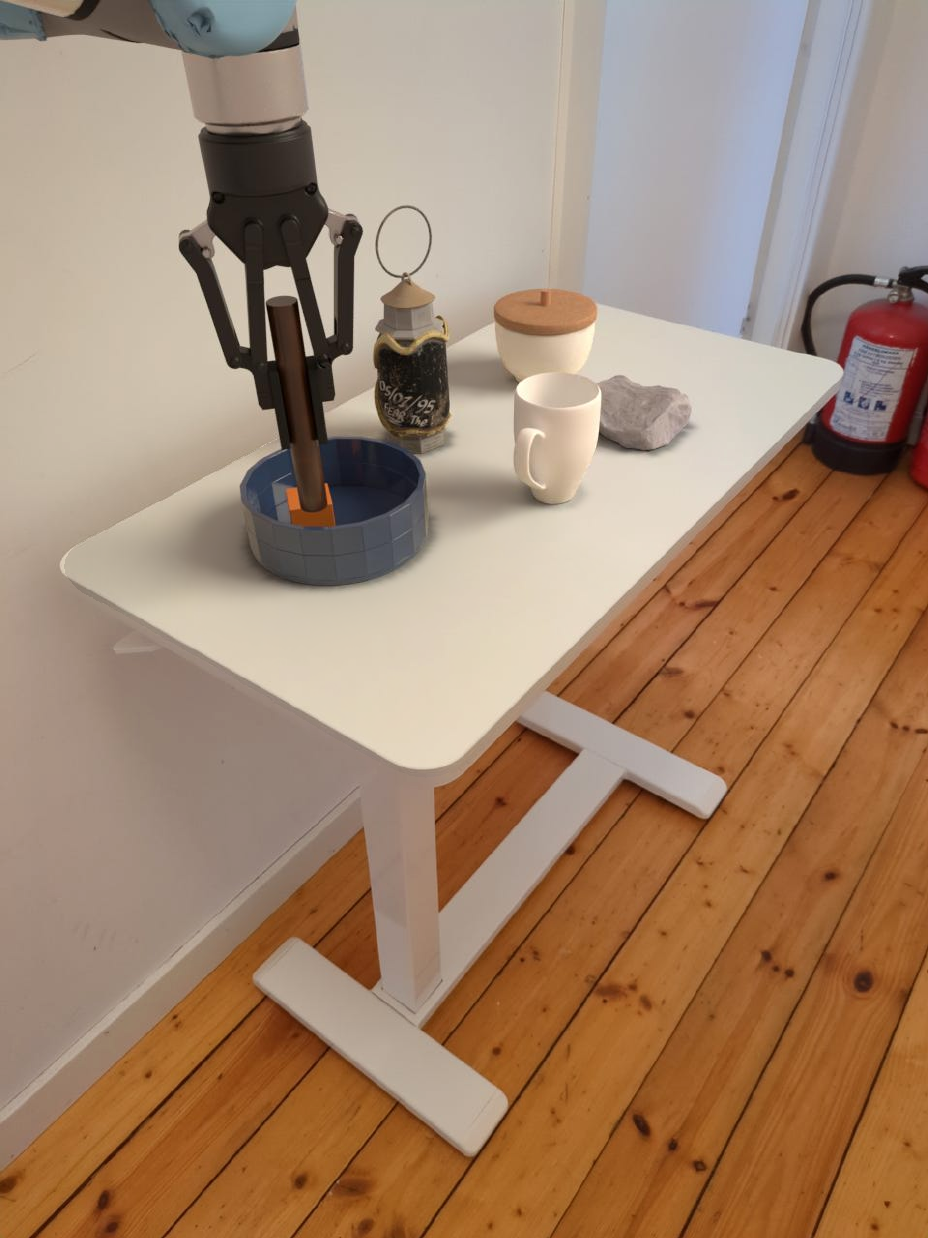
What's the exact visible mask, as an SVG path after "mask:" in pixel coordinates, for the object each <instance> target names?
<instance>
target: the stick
mask: <svg viewBox="0 0 928 1238" xmlns="http://www.w3.org/2000/svg"><path fill="white" fill-rule="evenodd" d="M265 310H266V313H267V314H266V315H267V320H268V327H269V332H270V338H271V344H272V349H273V355H274V360H275V362H276V367H277V369H278V374H279V380H280V386H281V392H282V398H283V404H284V410H285V416H286V422H287V428H288V434H289V440H290V446H291V449H290V450H291V456H292V461H293V467H294V473H295V479H296V485H297V491H298V497H299V503H300V508H301V509H302V510H303V511H305V512H318V511H321V510H323V509H325V508H326V507H327V504H328V503H327V496H326V489H325V483H324V476H323V469H322V462H321V455H320V449H319V442H318V438H317V431H316V424H315V418H314V411H313V404H312V397H311V390H310V383H309V377H308V370H307V360H306V347H305V341H304V340H305V339H304V335H303V333H304V332H303V327H302V321H301V313H300V307H299V299H298V298H297V297H295V296H292V295H278V296H272V297H270V298H268V299H267V300H265Z"/></svg>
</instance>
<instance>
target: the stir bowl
mask: <svg viewBox="0 0 928 1238" xmlns="http://www.w3.org/2000/svg"><path fill="white" fill-rule="evenodd" d="M327 439H328V444H321V445H319V449H320V455H321V462H322V469H323V476H324V483H327V484H328V488H329V493H330V497H331V501H332V505H333V512H334V520H335V526H332V527H314V526H298V525H294V524H291V519H290V513H289V507H288V501H287V495H286V489H289V488H296V487H297V485H296V479H295V473H294V467H293V461H292V456H291V450H290V449H286V450H282V448H278V449H276V450H274V451H273V452H271V453H269V454H267V455H265V456H264V457H262V458H260V459H259V460H258V461H257V462H255V464H253V465H252V466H250V467H249V469H247V470H246V473H245V474H244V476H243V478H242V480H241V482H240V484H239V495H240V502H241V507H242V512H243V517H244V521H245V526H246V532H247V536H248V540H249V547H250V549H251V551H252V554H253V557H254V558H255V559H256V561H257V562H258V563H259V564H260V565H261V566H262V567H263V568H264V569H265V570H267V571H268V572H269V573H271V574H273V575H275V576H277V577H279V578H282V579H284V580H287V581H290V582H293V583H299V584H303V585H312V586H343V585H351V584H357V583H361V582H366V581H370V580H373V579H377V578H380V577H383V576H385V575H387V574H389V573H391V572H393V571H395V570H398V569H399V568H401V567H402V566H404V565H406V564H407V563H408V562H410V561H411V560H412V559H414V557H415V556H417V554H418V553H420V551H421V549H422V548H423V547H424V545H425V544H426V541H427V538H428V534H429V523H430V519H429V517H430V516H429V501H428V499H429V498H428V484H427V473H426V470H425V468H424V466H423V464H422V461H421V459H420V458H419V457H417V456H416V455H415V454H414V453H411V452H410V451H408V450H407V449H406V448H403V447H401V446H398V445H396V444H393V443H391V442H388V441H387V440H383V439H380V438H379V439H378V438H373V437H368V436H355V435H354V436H347V435H346V436H345V435H336V436H335V435H334V436H327Z"/></svg>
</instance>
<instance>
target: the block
mask: <svg viewBox="0 0 928 1238" xmlns="http://www.w3.org/2000/svg"><path fill="white" fill-rule="evenodd" d="M325 489H326V496H327V503H328V504H327V507H326V508H325V509H323V510H321V511H318V512H305V511H303V510H302V509H301V508H300V503H299V497H298V491H297V487H296V488H289V489H286V495H287V501H288V507H289V513H290V519H291V524H294V525H298V526H314V527H332V526H335V520H334V512H333V505H332V501H331V497H330V493H329V488H328V484H327V483H325Z"/></svg>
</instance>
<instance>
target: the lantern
mask: <svg viewBox="0 0 928 1238" xmlns="http://www.w3.org/2000/svg"><path fill="white" fill-rule="evenodd" d="M402 209H411V210H414V211H416V212H418V213H419V214H420V215H421V216H422V217H423V218H424V220H425V223H426V225H427V228H428V235H429V240H428V241H429V242H428V247H427V251H426V254H425V256H424V258H423V260H422V262H421V263H420V264H419V265H418V266H417V268H415V269H414V270H413V271H412V272H406V271H404V272H403V273H402V274H401V275H399V274H394V273H392V272H390V271H389V270H388V269H387V268H386V267H385V266H384V264H383V263H382V260H381V257H380V252H379V238H380V234H381V231H382V228H383V226H384V224H385V223H386V221H387V220H388V218H389V217H391V215H393V214H394V213H395V212H397V211H399V210H402ZM427 217H428V216H427V215H426V214H425V213H424V212H423V211H422V210H421V209H419V208H418V207H416V206H413V205H410V204H409V205H408V204H404V205H400V206H397V207H395V208H392V210H390V211H389V212H388V213H387V214H386V215H385V216H384V218H383V219H382V221H381V222H380V224H379V226H378V229H377V232H376V236H375V242H374V243H375V255H376V259H377V261H378V264H379V266H380V267H381V269H382V270H383V271H384V272H385V273H386V274H387V275H389V276H390V277H393V278H397V279H401V281H400V282H399V283H398V284H396V285H395V287H393V289H391V290H390V291H388V292H387V293H385V294H383V295H382V296H380V302H381V303H382V304H383V318H381V319H379V320H378V321H377V323H376V326H375V328H374V330H375V332H377V333H378V335H377V337H376V340H375V342H374V345H373V350H372V351H373V352H372V353H373V355H372V356H373V357H372V359H373V360H372V361H373V366H374V368H375V369H376V373H377V378H376V381H375V386H374V397H373V398H374V405H375V406H374V407H375V410H376V414H377V416H378V419H379V422H380V423H381V425H382V427H383V428H384V429H385V430H386V441H388V442H391V443H393V444H396V445H398V446H401V447H403V448H406V449H407V450H408V451H410V452H411V453H412V454H423V453H426V452H429V451H431V450H433V449H436V448H440V447H441V446H443V445H444V444H445V440H446V436H447V432H446V431H447V429H446V426H447V425H448V424H449V423H450V420H451V418H452V414H451V412H450V409H451V408H450V407H451V403H450V388H449V387H450V386H449V385H450V384H449V374H448V373H449V372H448V356H447V355H448V354H447V343H448V342H449V339H450V334H451V333H450V327H449V324H448V321H447V320H446V318H444V317H443V316H441V315H436V316H435V310H434V304H433V302H434V301H435V299H436V296H435V294H433V293H432V292H431V291H428V290H426V289H424V288H422V287H421V286H420V285H418V284H417V283H415V282H414V281H413V280H412V278H411V276H413V275H415V274H416V273H418V272H419V270H421V269H422V267H423V266H424V264H425V263H426V262H427V259H428V257H429V255H430V253H431V250H432V244H433V233H432V226H431V224H430V221H429V219H428V218H427ZM442 329H443V332H442Z"/></svg>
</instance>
